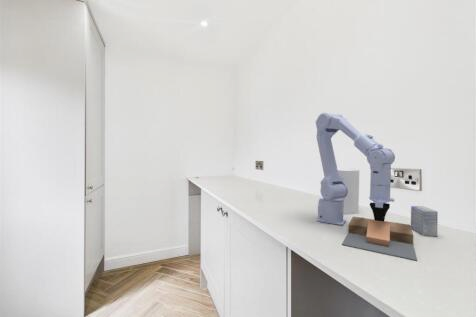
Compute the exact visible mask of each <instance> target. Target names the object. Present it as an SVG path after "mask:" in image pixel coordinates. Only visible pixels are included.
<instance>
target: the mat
mask: <svg viewBox="0 0 476 317" xmlns="http://www.w3.org/2000/svg"><path fill="white" fill-rule="evenodd" d="M341 245H342V246H345V247H350V248H354V249H357V250H358V249H360V250H363V251H368V252H373V253H378V254H382V255H387V256H392V257H396V258H401V259H405V260H410V261H416V262H417V261H418V258H417V255H416V249H415V246H414V244H413V245H412V244H407V243H401V242H396V241H390V245H389V246H385V245H380V244H375V243H370V242H366V236H363V235H358V234H352V233H348V232H347V234H346V235H345V238H344V239H343V241H342V243H341Z"/></svg>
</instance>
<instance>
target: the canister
mask: <svg viewBox="0 0 476 317" xmlns="http://www.w3.org/2000/svg"><path fill="white" fill-rule="evenodd" d="M337 170H338V174H339V176H340V177H341V178H343V179H344V183H345V185H346V186H347V188H348V194H347V196H346V197H345V200H344V210H343V215H356V214H359V206H360V205H359V204H360V203H359V201H360V196H359V195H360V169H355V168H354V169H353V168H337ZM331 184H333V183H331Z"/></svg>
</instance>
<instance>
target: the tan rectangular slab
mask: <svg viewBox="0 0 476 317" xmlns="http://www.w3.org/2000/svg"><path fill="white" fill-rule="evenodd" d="M368 219H369V220H368V228H367V235H366V242H370V243H375V244H380V245H385V246H389V245H390V222H391V221H387V222H383V221H376V220H370V219H371V218H368Z"/></svg>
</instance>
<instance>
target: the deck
mask: <svg viewBox="0 0 476 317" xmlns="http://www.w3.org/2000/svg"><path fill="white" fill-rule="evenodd" d="M369 219H370V220H374V218H373V219H372V218H366V217H359V216H352V218H351V219H350V221H349V222H348V226H347V227H348V228H347V229H348V232H347V234H348V233H352V234H358V235H363V236H366V235H367V228H368V220H369ZM384 222H388V221H387V220H384ZM389 222H390V241H396V242H401V243H407V244H412V245H413V246H414V234H413V229H411V224H408V223H407V224H406V223H400V222H393V221H389Z"/></svg>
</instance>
